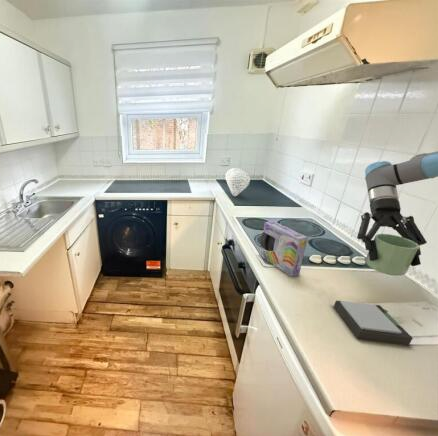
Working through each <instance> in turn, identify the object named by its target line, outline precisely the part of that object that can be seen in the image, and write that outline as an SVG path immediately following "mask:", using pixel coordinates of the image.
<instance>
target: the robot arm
mask: <svg viewBox="0 0 438 436" xmlns="http://www.w3.org/2000/svg"><path fill="white" fill-rule="evenodd" d="M364 174H365V177H364V179H365V183H366V189H367V196H368V203H369V209H370V213H369V212H367V211H366V212H364V213H363V214H361V215H360V218H361V222H360V226H359V229H358V233H357V236H356V239H358V240H361V241H362V242H363V243H364V247H365V251H368V252H369V257H370V261H374V260H377V259H378V255H377V249H376V242H375V240H374V238H375V236H376V235H377V233H378V232H379V229H380V228H381V227H382V228H384V227H387V228H391V229H392V230H393V231H396V233H398V235H399V236H400V237H403V238H406V239H409V240H412V241H414V242H415V243H417V244H418V245H419V246H423V245H425V244H427V243H428V242H427V240H426V238H425V237H424V235H423V233H422V231H421V230H420V229H419V227H418V226H417V224H416V222H415V217H414V216H413V215H409V216H405V215H404V216H403V215H402V214H401V210H402V209H401V204H400V200H399V193H398V189H397V186H400V185H405V184H409V183H413V182H414V183H415V182H419V181H424V180H425V181H426V180H429V179H435V178H438V151H433V152H428V153H420V154H417V155H414V156H413V157H411V158H410V159H409V160H406V161H403V162H399V163H395V164H392V163H391V162H389V161H388V160H382V161H375V162H372V163H370V164H368V166H366V168H365V170H364ZM371 219H372V220H373V221H374V222H373V224H372V227H371V228H370V229H369V225H370V223H371V222H370V221H371ZM368 229H369V230H368ZM421 251H422V250H421V248H420V247H419V249H418V251H417V253H416V255H415V257H414V259H413V261H412V263H411V265H410V267H416V266H420V265H422V263H421V260H420V259H421V258H420V256H422V252H421Z"/></svg>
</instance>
